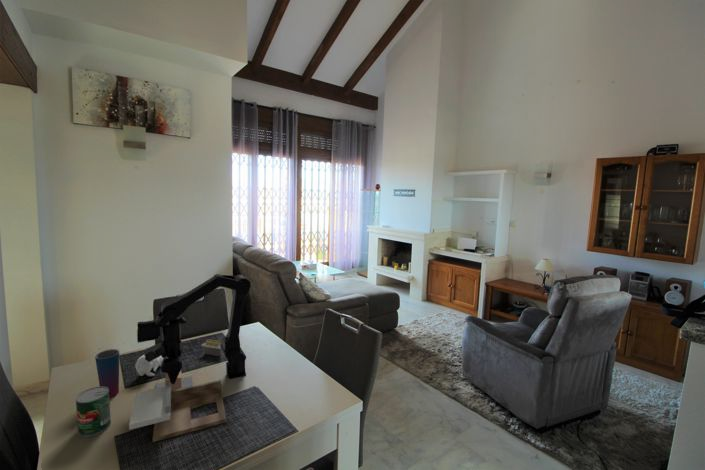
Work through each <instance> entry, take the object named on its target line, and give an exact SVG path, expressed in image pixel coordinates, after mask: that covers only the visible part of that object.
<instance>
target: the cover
mask: <svg viewBox="0 0 705 470" xmlns="http://www.w3.org/2000/svg"><path fill="white" fill-rule="evenodd" d="M170 411H171V382H167V386H165V387H160V388H156V387H155V388H152V389H146V390H141V391H138V392H135V395H134V401H133V404H132V408H131V412H130V418H129V424H128V429H129V430H130V431H131V430H133V429H139V428H143V427H146V426H149V425H150V426H151V425H154V423H158V422H162V421H166V420H170Z"/></svg>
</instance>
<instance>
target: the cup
mask: <svg viewBox="0 0 705 470" xmlns="http://www.w3.org/2000/svg"><path fill="white" fill-rule="evenodd" d="M94 358H95V365H96V370H97V377H98V384H99V387H101V386H103V387H107V388H108V389H109V399H110V398H113V397H115V396H117V395H118V394H119V393H120V392H119V391H120V350H119V349H113V348H111V349H106V350H103V351H100V352H98V353H96V354H95V355H94Z"/></svg>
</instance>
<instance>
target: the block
mask: <svg viewBox="0 0 705 470" xmlns="http://www.w3.org/2000/svg"><path fill="white" fill-rule="evenodd" d="M182 378H183V376H182V370H181V371H180V373H179V375H178V377H177V380H176V382H175V384H171V390H176V389H181V388H182ZM164 382H165V386H167V382H170V379H169V376H168V374H167V373H165V378H164Z"/></svg>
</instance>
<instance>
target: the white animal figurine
mask: <svg viewBox="0 0 705 470" xmlns="http://www.w3.org/2000/svg"><path fill="white" fill-rule="evenodd" d="M163 360H164V357H163V358H162V355H161V356H160V357H158V358H156V359H154V360H152V361H151V362H148V361H147V360H145V356H144V354H143V355H141V356H140V357H139V358H137V360H136V363H135V364H134V366H135V370H136V371H137V374H138V375H139V376H141V377H142V376H144V375H146V376H147V377H155V376H156V374H155V373H154V372H156V371H157V369H158V368H159V367H161V364H162V361H163ZM152 369H153V372H151V371H152Z"/></svg>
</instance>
